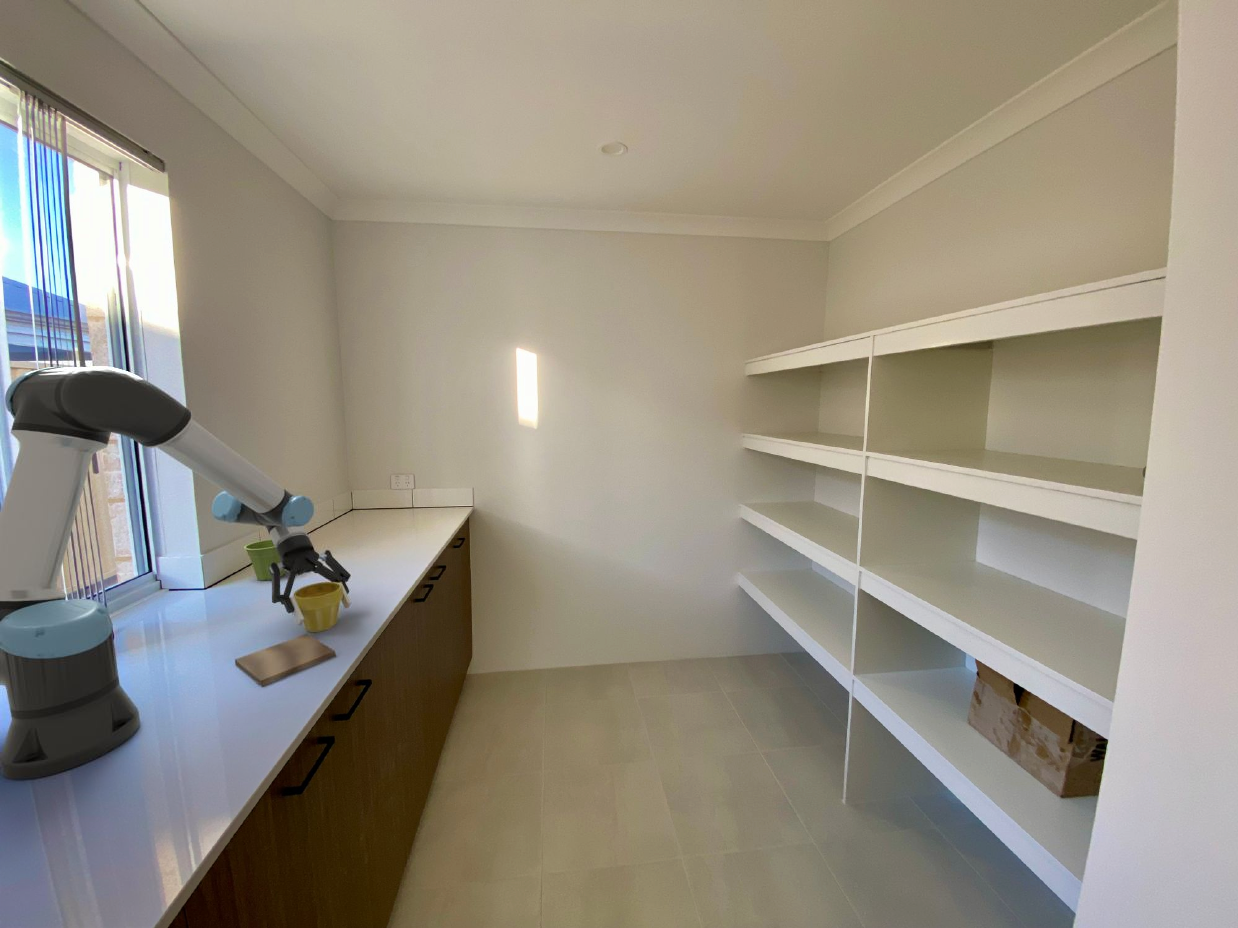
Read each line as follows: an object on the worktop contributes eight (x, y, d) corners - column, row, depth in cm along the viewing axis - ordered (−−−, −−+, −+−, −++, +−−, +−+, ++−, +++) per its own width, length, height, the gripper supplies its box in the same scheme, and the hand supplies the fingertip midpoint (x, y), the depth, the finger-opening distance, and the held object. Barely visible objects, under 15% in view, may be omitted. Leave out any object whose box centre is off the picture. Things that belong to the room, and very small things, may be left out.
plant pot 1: (269, 569, 162) (266, 537, 161) (301, 571, 160) (298, 538, 159) (237, 582, 150) (233, 548, 149) (271, 584, 149) (267, 549, 147)
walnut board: (261, 686, 95) (260, 680, 95) (235, 664, 103) (234, 659, 103) (335, 655, 107) (335, 650, 107) (306, 638, 115) (306, 633, 114)
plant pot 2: (322, 637, 115) (319, 598, 114) (286, 633, 117) (282, 595, 116) (354, 618, 125) (351, 582, 124) (320, 615, 127) (317, 580, 126)
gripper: (334, 540, 137) (366, 605, 130) (236, 562, 118) (268, 639, 111) (341, 524, 133) (375, 590, 126) (242, 544, 114) (276, 623, 108)
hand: (325, 613), depth 119 cm, fingers closed on plant pot 2, 10 cm apart
